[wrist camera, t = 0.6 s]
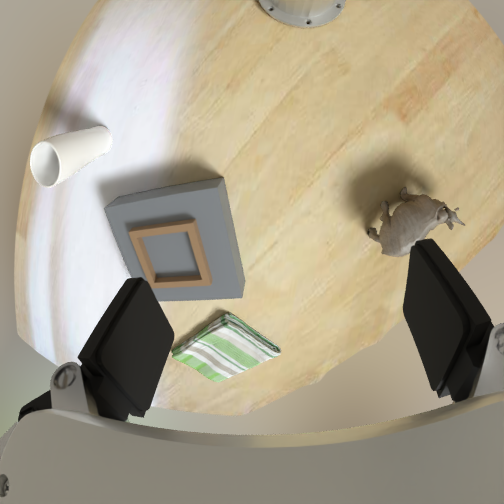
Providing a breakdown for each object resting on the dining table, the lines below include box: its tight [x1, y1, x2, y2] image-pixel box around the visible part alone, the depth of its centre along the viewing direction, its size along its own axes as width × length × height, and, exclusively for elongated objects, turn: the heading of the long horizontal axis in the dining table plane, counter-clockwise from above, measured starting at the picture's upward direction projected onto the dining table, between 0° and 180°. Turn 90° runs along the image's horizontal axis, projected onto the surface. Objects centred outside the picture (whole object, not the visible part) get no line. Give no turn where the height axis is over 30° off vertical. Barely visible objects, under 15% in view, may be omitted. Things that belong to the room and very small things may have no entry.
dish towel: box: [172, 313, 281, 382], centre depth 64 cm, size 17×23×4 cm
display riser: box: [104, 177, 245, 301], centre depth 47 cm, size 20×20×6 cm
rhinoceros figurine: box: [368, 187, 465, 257], centre depth 39 cm, size 8×14×15 cm
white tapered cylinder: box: [30, 126, 112, 188], centre depth 34 cm, size 7×7×15 cm
